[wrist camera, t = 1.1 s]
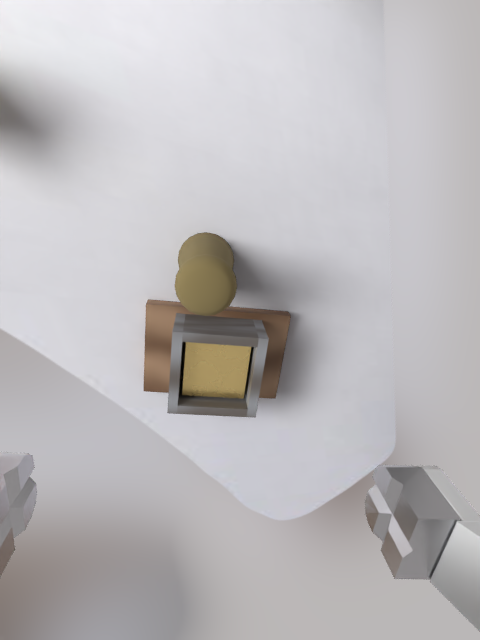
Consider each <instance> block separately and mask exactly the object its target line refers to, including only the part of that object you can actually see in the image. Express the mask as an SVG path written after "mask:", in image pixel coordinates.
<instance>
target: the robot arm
mask: <svg viewBox="0 0 480 640" xmlns="http://www.w3.org/2000/svg"><path fill="white" fill-rule="evenodd" d="M33 469H34V462H33V456H32V455H30V454H28V453H9V452H0V577H1V575H2V573H3V571H4V570H5V568H6V566H7V564H8V562H9V560H10V558H11V556H12V554H13V553H14V551H15V546H14V538H15V537H16V536H18V535H19V534H20V533H21V532H23V531H24V530H25V529H26V527H27V525H28V523H29V521H30V519H31V517H32V514H33V510H34V507H35V504H36V495H37V488H36V483H35V482H34V481H33V480H32V479H31V478H30V477H29V476H30V475H31V473H32V471H33ZM373 479H374V481H375V483H376V484H375V485H374V486H373V487H372V488H371V489H370V490H368V493H367V496H366V500H365V512H366V517H367V521H368V524H369V526H370V528H371V530H372V532H373V533H374V534H375V535H376V536H377V537H378V538H380V539H381V540H382V541H383V542H382V547H381V551H382V554H383V556H384V558H385V560H386V562H387V564H388V566H389V568H390V570H391V572H392V574H393V577H394V579H430V582H431V583H432V584H433V585H434V586H435V587H436V588H437V589H438V590H439V591H440V592H441V593H442V594H443V595H444V596H445V597H446V598H447V599H448V600H449V601H450V602H451V603H452V604H453V605H454V606H455V607H456V608H457V609H458V610H459V611H460V612H461V613H462V614H463V615H464V616H465V617H466V618H467V619H468V620H469V621H470V622H471V623H472V624H473V625H474V626H475V627H476V628H477V629H478V630H479V631H480V515H479V514H478V513H477V511H476V510H475V509H474V508H473V507H472V505H471V504H470V503H469V502H468V501H467V499H466V498H465V497H464V496H463V494H462V493H461V492H460V491H459V490H458V488H457V487H456V486H455V485H454V483H452V481H451V480H450V479H449V477H448V476H447V475H446V474H445V473H444V471H443V470H442V469H440V468H438V467H437V466H401V465H379V466H378V467H377V468H376V469H375V471H374V474H373Z"/></svg>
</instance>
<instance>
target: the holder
mask: <svg viewBox="0 0 480 640" xmlns="http://www.w3.org/2000/svg"><path fill="white" fill-rule="evenodd" d="M290 318H291V316H290V314H289V312H286V311H274V310H263V309H251V308H240V307H227V308H226V309H225V310H224V311H222V312H220V313H218V314H216V315H210V316H202V315H197V314H194V313H192V312H190V311H188V310H187V309H186V308H185V307H184V306H183V305H182V304H181V302H171V301H159V300H148V301H147V303H146V327H145V362H144V391H150V392H168V393H169V397H168V413H173V414H194V415H215V416H235V417H256V412H257V406H258V400H259V398H276V393H277V387H278V382H279V377H280V371H281V366H282V361H283V355H284V350H285V345H286V339H287V334H288V329H289V323H290ZM186 342H192V343H206V344H219V345H233V346H247V347H251V353H250V359H249V366H248V373H247V379H246V386H245V393H244V398H226V397H207V396H189V395H182V389H183V376H184V363H185V349H186Z"/></svg>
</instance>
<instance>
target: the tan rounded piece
mask: <svg viewBox="0 0 480 640" xmlns="http://www.w3.org/2000/svg"><path fill="white" fill-rule="evenodd" d="M178 263H179V271H178V273H177V275H176V280H175V290H176V295H177V297H178V299H179V300H180V302H181V304H182V305H183V306H184V307H185V308H186V309H187V310H188V311H190V312H192V313H194V314H197V315H202V316H210V315H216V314H218V313H220V312H222V311H224V310H225V309H226V308H227V307H228V306H229V305H230V304H231V302H232V300H233V299H234V297H235V294H236V289H237V283H236V276H235V274H234V272H233V270H232V269H233V264H234V258H233V252H232V250H231V248H230V246H229V244H228V243H227V242H226V241H225V240H224V239H223V238H221V237H220V236H218V235H216V234H212V233H207V232H206V233H198V234H196V235H194V236H191V237H189V238H188V239H187V240H186V241H185V242H184V243H183V245H182V247H181V249H180V251H179V256H178Z"/></svg>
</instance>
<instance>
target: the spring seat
mask: <svg viewBox="0 0 480 640" xmlns="http://www.w3.org/2000/svg"><path fill="white" fill-rule="evenodd" d="M250 353H251V347H247V346H233V345H219V344H206V343H192V342H186V349H185V363H184V376H183V389H182V395H189V396H207V397H226V398H244V393H245V386H246V379H247V373H248V366H249V359H250Z"/></svg>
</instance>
